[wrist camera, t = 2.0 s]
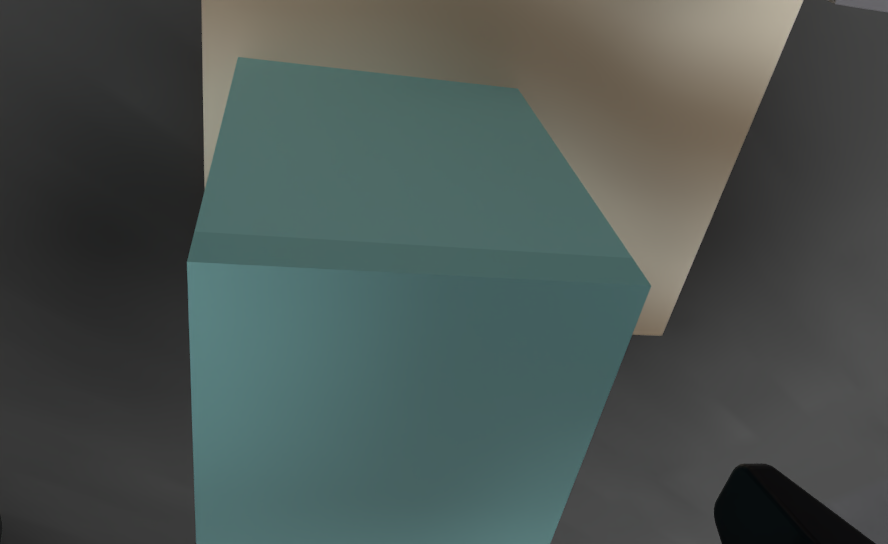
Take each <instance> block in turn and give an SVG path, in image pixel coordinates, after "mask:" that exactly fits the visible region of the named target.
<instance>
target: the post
mask: <svg viewBox="0 0 888 544" xmlns="http://www.w3.org/2000/svg"><path fill="white" fill-rule="evenodd" d="M826 1H829V2H831V3H833V4H838V5H844V6H850V7H857V8H863V9H869V10H876V11H882V12H888V0H826Z"/></svg>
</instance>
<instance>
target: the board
mask: <svg viewBox="0 0 888 544" xmlns="http://www.w3.org/2000/svg"><path fill="white" fill-rule="evenodd" d="M802 2H803V0H202V59H203V122H204V185H205V187H206V183H207V179H208V175H209V171H210V167H211V163H212V159H213V155H214V151H215V147H216V143H217V139H218V135H219V131H220V127H221V123H222V119H223V115H224V111H225V107H226V103H227V99H228V95H229V91H230V87H231V83H232V79H233V75H234V71H235V67H236V63H237V59H238V57H243V58H251V59H260V60H269V61H278V62H287V63H296V64H304V65H313V66H322V67H331V68H340V69H349V70H357V71H366V72H375V73H384V74H393V75H402V76H411V77H419V78H428V79H437V80H446V81H455V82H464V83H472V84H481V85H490V86H499V87H508V88H517V89H518V90H519V91H520V93H521V94H522V96H523V97H524V98H525V100H526V101H527V103H528V104H529V106H530V107H531V109H532V110H533V112H534V113H535V115H536V116H537V118H538V119H539V121H540V122H541V124H542V125H543V127H544V128H545V129H546V131H547V132H548V134H549V135H550V137H551V138H552V140H553V141H554V143H555V144H556V146H557V147H558V149H559V150H560V152H561V153H562V155H563V156H564V158H565V159H566V160H567V162H568V163H569V165H570V166H571V168H572V169H573V171H574V172H575V174H576V175H577V177H578V178H579V180H580V181H581V183H582V184H583V186H584V187H585V189H586V190H587V191H588V193H589V194H590V196H591V197H592V199H593V200H594V202H595V203H596V205H597V206H598V208H599V209H600V211H601V212H602V214H603V215H604V217H605V218H606V220H607V221H608V222H609V224H610V225H611V227H612V228H613V230H614V231H615V233H616V234H617V236H618V237H619V239H620V240H621V242H622V243H623V245H624V246H625V248H626V249H627V251H628V252H629V253H630V255H631V256H632V258H633V259H634V261H635V262H636V264H637V265H638V267H639V268H640V270H641V271H642V273H643V274H644V276H645V277H646V279H647V280H648V282H649V283H650V284H651V288H650V291H649V293H648V296H647V298H646V301H645V303H644V306H643V308H642V311H641V314H640V316H639V319H638V321H637V324H636V326H635V329H634V331H633V334H632V335H657V336H662V334H663V332H664V330H665V327H666V325H667V323H668V320H669V318H670V315H671V313H672V311H673V308H674V306H675V304H676V301H677V299H678V296H679V294H680V292H681V289H682V287H683V285H684V282H685V280H686V277H687V275H688V273H689V270H690V268H691V266H692V263H693V261H694V258H695V256H696V254H697V251H698V249H699V247H700V244H701V242H702V240H703V237H704V235H705V232H706V230H707V228H708V225H709V223H710V221H711V218H712V216H713V213H714V211H715V209H716V206H717V204H718V202H719V199H720V197H721V194H722V192H723V190H724V187H725V185H726V183H727V180H728V178H729V176H730V173H731V171H732V168H733V166H734V164H735V161H736V159H737V157H738V154H739V152H740V149H741V147H742V145H743V142H744V140H745V138H746V135H747V133H748V130H749V128H750V126H751V123H752V121H753V119H754V116H755V114H756V112H757V109H758V107H759V104H760V102H761V100H762V97H763V95H764V93H765V90H766V88H767V85H768V83H769V81H770V78H771V76H772V74H773V71H774V69H775V66H776V64H777V62H778V59H779V57H780V55H781V52H782V50H783V48H784V45H785V43H786V40H787V38H788V36H789V33H790V31H791V29H792V26H793V24H794V21H795V19H796V17H797V14H798V12H799V10H800V7H801V5H802Z"/></svg>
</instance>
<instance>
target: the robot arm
mask: <svg viewBox="0 0 888 544" xmlns="http://www.w3.org/2000/svg"><path fill="white" fill-rule="evenodd" d="M714 518H715V523H716V526H717V529H718V533H719V536H720V539H721V542H722V544H875V543H874V542H873V541H871V540H870V539H869V538H867V537H866V536H865V535H863V534H862V533H861V532H859V531H858V530H857V529H855V528H854V527H853V526H851V525H850V524H849V523H847V522H846V521H845V520H843V519H842V518H841V517H839V516H838V515H837V514H835V513H834V512H833V511H831V510H830V509H829V508H827V507H826V506H825V505H823V504H822V503H821V502H819V501H818V500H817V499H815V498H814V497H813V496H811V495H810V494H809V493H807V492H806V491H805V490H803V489H802V488H801V487H799V486H798V485H797V484H795V483H794V482H793V481H791V480H790V479H789V478H787V477H786V476H785V475H783V474H782V473H781V472H779V471H778V470H777V469H775V468H774V467H772V466H770V465H767V464H740V465H739V466H737V467H736V468H735V469H734V470H733V472H732V474H731V475H730V477H729V479H728V481H727V482H726V484H725V486H724V488H723V490H722V491H721V493H720V495H719V497H718V498H717V500H716V503H715V507H714ZM1 535H2V521H1V516H0V542H1Z"/></svg>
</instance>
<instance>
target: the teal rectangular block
mask: <svg viewBox="0 0 888 544" xmlns="http://www.w3.org/2000/svg"><path fill="white" fill-rule="evenodd" d="M187 280H188V310H189V341H190V371H191V402H192V432H193V463H194V493H195V524H196V544H550V543H551V540H552V538H553V535H554V532H555V530H556V527H557V525H558V522H559V520H560V517H561V515H562V512H563V510H564V507H565V504H566V502H567V499H568V497H569V494H570V492H571V489H572V487H573V484H574V482H575V479H576V476H577V474H578V471H579V469H580V466H581V464H582V461H583V459H584V456H585V454H586V451H587V448H588V446H589V443H590V441H591V438H592V436H593V433H594V431H595V428H596V426H597V423H598V420H599V418H600V415H601V413H602V410H603V408H604V405H605V403H606V400H607V398H608V395H609V392H610V390H611V387H612V385H613V382H614V380H615V377H616V375H617V372H618V370H619V367H620V364H621V362H622V359H623V357H624V354H625V352H626V349H627V347H628V344H629V342H630V339H631V336H632V334H633V331H634V329H635V326H636V324H637V321H638V319H639V316H640V314H641V311H642V308H643V306H644V303H645V301H646V298H647V296H648V293H649V291H650V288H651V284H650V283H649V282H648V280H647V279H646V277H645V276H644V274H643V273H642V271H641V270H640V268H639V267H638V265H637V264H636V262H635V261H634V259H633V258H632V256H631V255H630V253H629V252H628V251H627V249H626V248H625V246H624V245H623V243H622V242H621V240H620V239H619V237H618V236H617V234H616V233H615V231H614V230H613V228H612V227H611V225H610V224H609V222H608V221H607V220H606V218H605V217H604V215H603V214H602V212H601V211H600V209H599V208H598V206H597V205H596V203H595V202H594V200H593V199H592V197H591V196H590V194H589V193H588V191H587V190H586V189H585V187H584V186H583V184H582V183H581V181H580V180H579V178H578V177H577V175H576V174H575V172H574V171H573V169H572V168H571V166H570V165H569V163H568V162H567V160H566V159H565V158H564V156H563V155H562V153H561V152H560V150H559V149H558V147H557V146H556V144H555V143H554V141H553V140H552V138H551V137H550V135H549V134H548V132H547V131H546V129H545V128H544V127H543V125H542V124H541V122H540V121H539V119H538V118H537V116H536V115H535V113H534V112H533V110H532V109H531V107H530V106H529V104H528V103H527V101H526V100H525V98H524V97H523V96H522V94H521V93H520V91H519V90H518V89H517V88H508V87H499V86H490V85H481V84H472V83H464V82H455V81H446V80H437V79H428V78H419V77H411V76H402V75H393V74H384V73H375V72H366V71H357V70H349V69H340V68H331V67H322V66H313V65H304V64H296V63H287V62H278V61H269V60H260V59H251V58H243V57H238V59H237V63H236V67H235V71H234V75H233V79H232V83H231V87H230V91H229V95H228V99H227V103H226V107H225V111H224V115H223V119H222V123H221V127H220V131H219V135H218V139H217V143H216V147H215V151H214V155H213V159H212V163H211V167H210V171H209V175H208V179H207V183H206V187H205V191H204V195H203V199H202V203H201V207H200V211H199V215H198V219H197V223H196V227H195V231H194V235H193V239H192V243H191V247H190V251H189V255H188V259H187Z"/></svg>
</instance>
